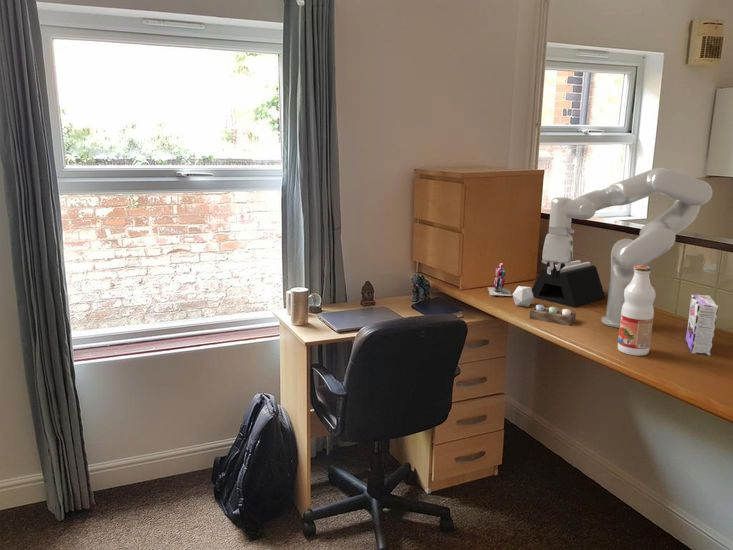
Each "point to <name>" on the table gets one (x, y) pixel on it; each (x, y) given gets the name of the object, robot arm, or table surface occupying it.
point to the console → (552, 316)
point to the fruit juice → (637, 314)
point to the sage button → (553, 310)
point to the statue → (499, 284)
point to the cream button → (566, 312)
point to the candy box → (701, 324)
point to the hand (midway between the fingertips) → (554, 279)
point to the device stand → (570, 285)
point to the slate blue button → (540, 307)
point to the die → (523, 296)
